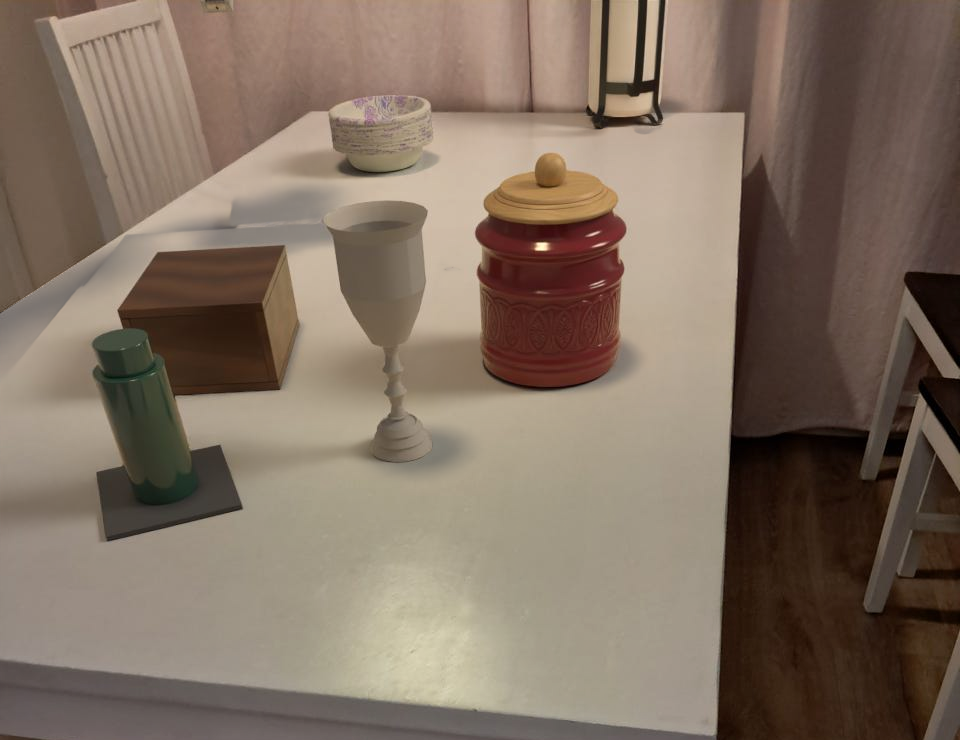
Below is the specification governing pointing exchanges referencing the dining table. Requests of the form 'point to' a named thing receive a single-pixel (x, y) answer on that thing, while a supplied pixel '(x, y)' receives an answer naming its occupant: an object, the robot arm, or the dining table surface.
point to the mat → (137, 517)
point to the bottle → (143, 417)
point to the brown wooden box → (217, 317)
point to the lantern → (626, 59)
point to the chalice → (385, 301)
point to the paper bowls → (381, 131)
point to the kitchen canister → (550, 277)
